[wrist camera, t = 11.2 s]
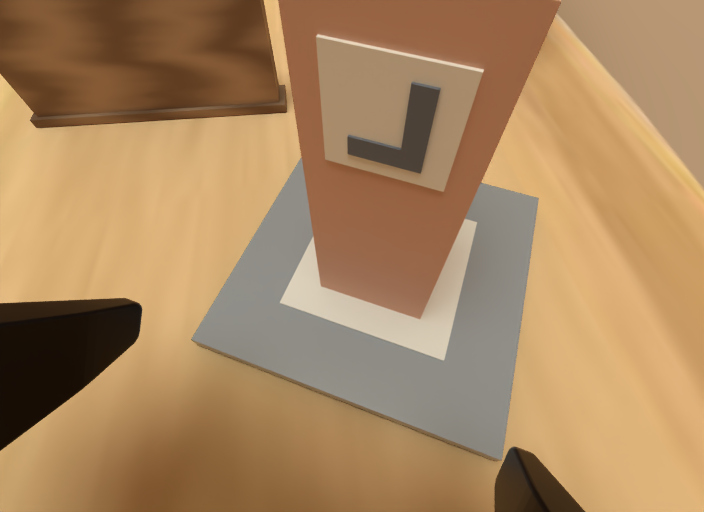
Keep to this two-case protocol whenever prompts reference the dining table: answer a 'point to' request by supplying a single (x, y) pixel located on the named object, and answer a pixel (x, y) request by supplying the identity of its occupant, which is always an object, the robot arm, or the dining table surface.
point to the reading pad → (387, 322)
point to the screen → (138, 59)
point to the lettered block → (401, 128)
